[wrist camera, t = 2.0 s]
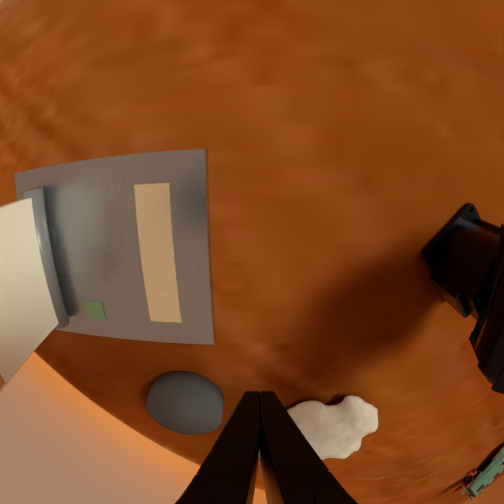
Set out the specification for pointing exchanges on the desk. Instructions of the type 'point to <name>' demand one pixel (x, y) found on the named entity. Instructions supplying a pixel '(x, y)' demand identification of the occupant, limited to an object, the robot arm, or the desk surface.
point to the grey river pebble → (185, 403)
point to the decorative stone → (335, 425)
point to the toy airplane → (483, 476)
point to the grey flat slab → (131, 244)
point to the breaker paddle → (26, 282)
